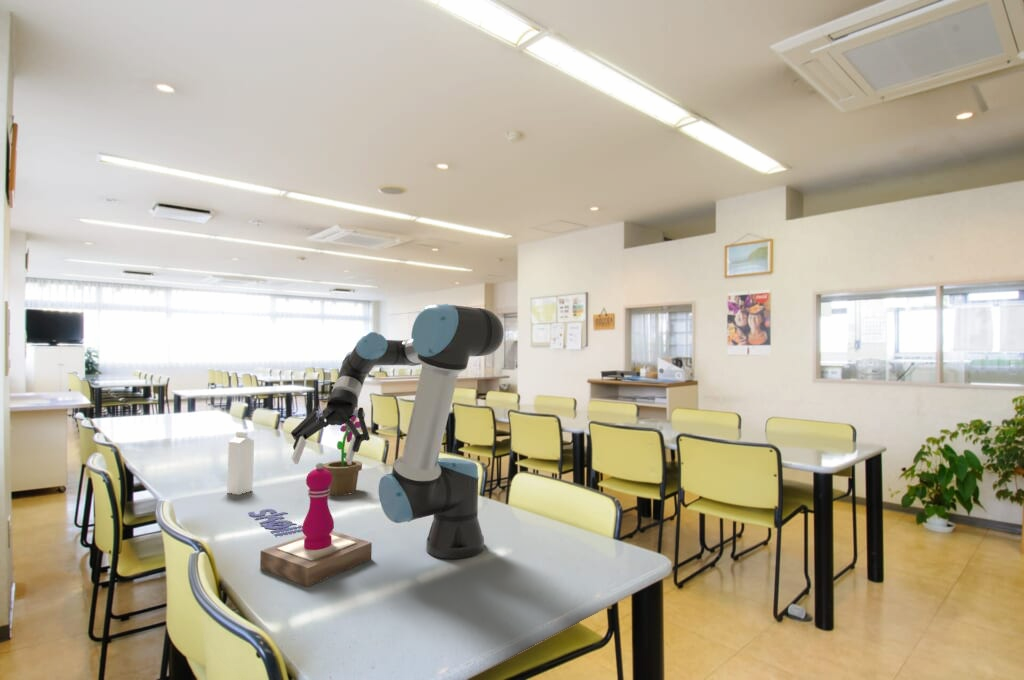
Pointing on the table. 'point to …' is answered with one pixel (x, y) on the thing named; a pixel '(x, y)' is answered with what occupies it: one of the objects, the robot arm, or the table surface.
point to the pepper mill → (318, 510)
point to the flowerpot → (344, 467)
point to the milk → (240, 464)
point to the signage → (275, 522)
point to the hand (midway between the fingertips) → (321, 461)
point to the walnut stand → (315, 558)
